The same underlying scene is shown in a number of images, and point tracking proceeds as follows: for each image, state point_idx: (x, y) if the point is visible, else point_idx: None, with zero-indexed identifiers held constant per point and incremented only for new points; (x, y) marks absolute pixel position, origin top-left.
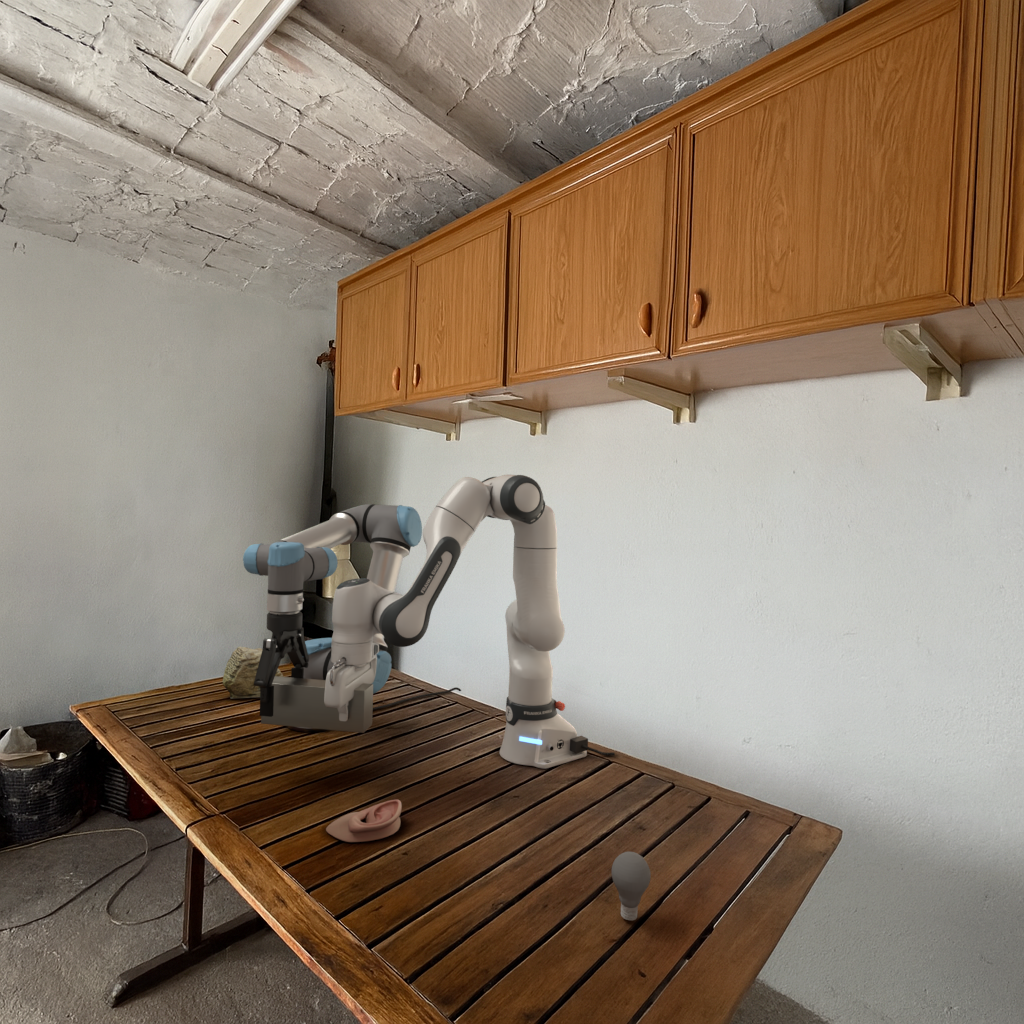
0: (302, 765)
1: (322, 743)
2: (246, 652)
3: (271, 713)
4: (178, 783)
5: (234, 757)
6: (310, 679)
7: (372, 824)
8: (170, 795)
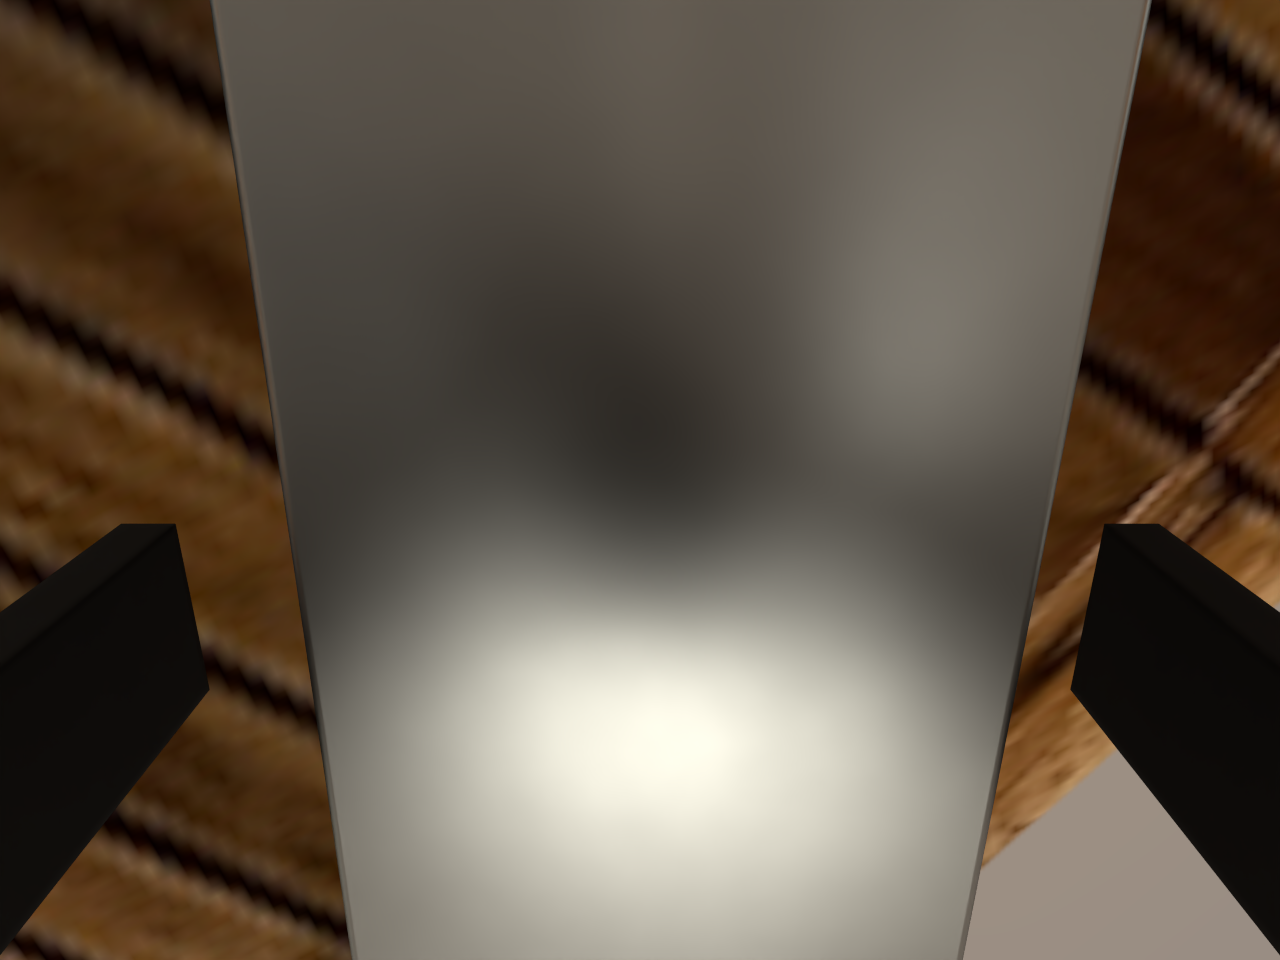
0: None
1: (12, 326)
2: None
3: (1184, 547)
4: None
5: None
6: (317, 262)
7: None
8: (1003, 796)
